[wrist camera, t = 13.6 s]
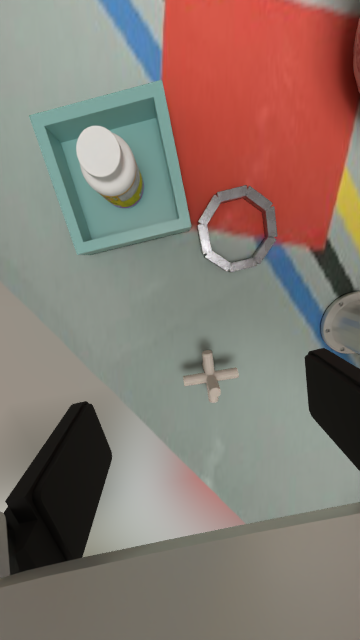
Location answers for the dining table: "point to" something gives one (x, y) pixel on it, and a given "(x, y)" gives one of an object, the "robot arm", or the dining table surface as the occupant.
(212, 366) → the pipe connector
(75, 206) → the bin
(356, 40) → the chamber pot
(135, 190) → the supplement bottle
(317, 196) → the dining table surface
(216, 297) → the dining table surface
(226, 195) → the collar
